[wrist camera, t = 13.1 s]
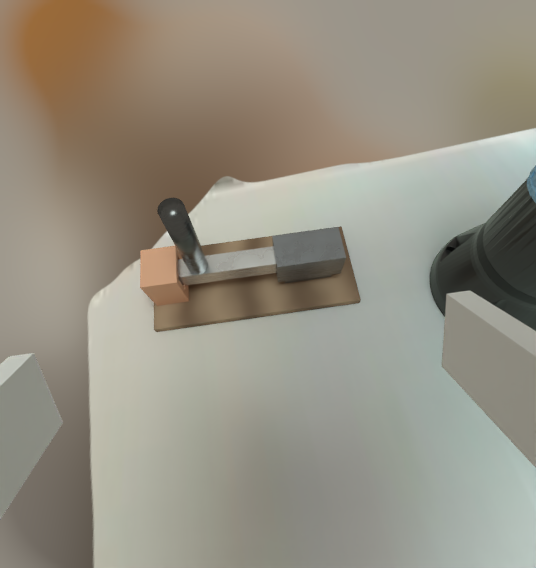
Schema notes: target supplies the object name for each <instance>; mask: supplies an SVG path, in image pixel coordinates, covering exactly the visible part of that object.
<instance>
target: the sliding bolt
mask: <svg viewBox="0 0 536 568" xmlns="http://www.w3.org/2000/svg"><path fill="white" fill-rule="evenodd" d="M158 214H159V216H160V218H161V220H162V222H163V224H164V225H165V227H166V229H167V231H168V233H169V235H170V237H171V238H172V240H173V242H174V244H175V246H176V248H177V250H178V251H179V253H180V255H181V257H182V259H178V279H179V281H180V282H181V284H182V286H185V285H192V284H199V283H206V282H214V281H221V280H228V279H235V278H242V277H249V276H256V275H263V274H271V273H277V263H276V257H275V251H274V246H272V247H265V248H257V249H250V250H243V251H236V252H229V253H221V254H214V255H207V256H205V255H204V252H203V250H202V248H201V245H200V243H199V240H198V238H197V235H196V233H195V231H194V228H193V226H192V223H191V221H190V218H189V216H188V213H187V211H186V209H185V206H184V204H183V202H182V201H181V200H179V199H177V198H169V199H165V200H164V201H162V202H161V203H160V205H159V206H158Z"/></svg>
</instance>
